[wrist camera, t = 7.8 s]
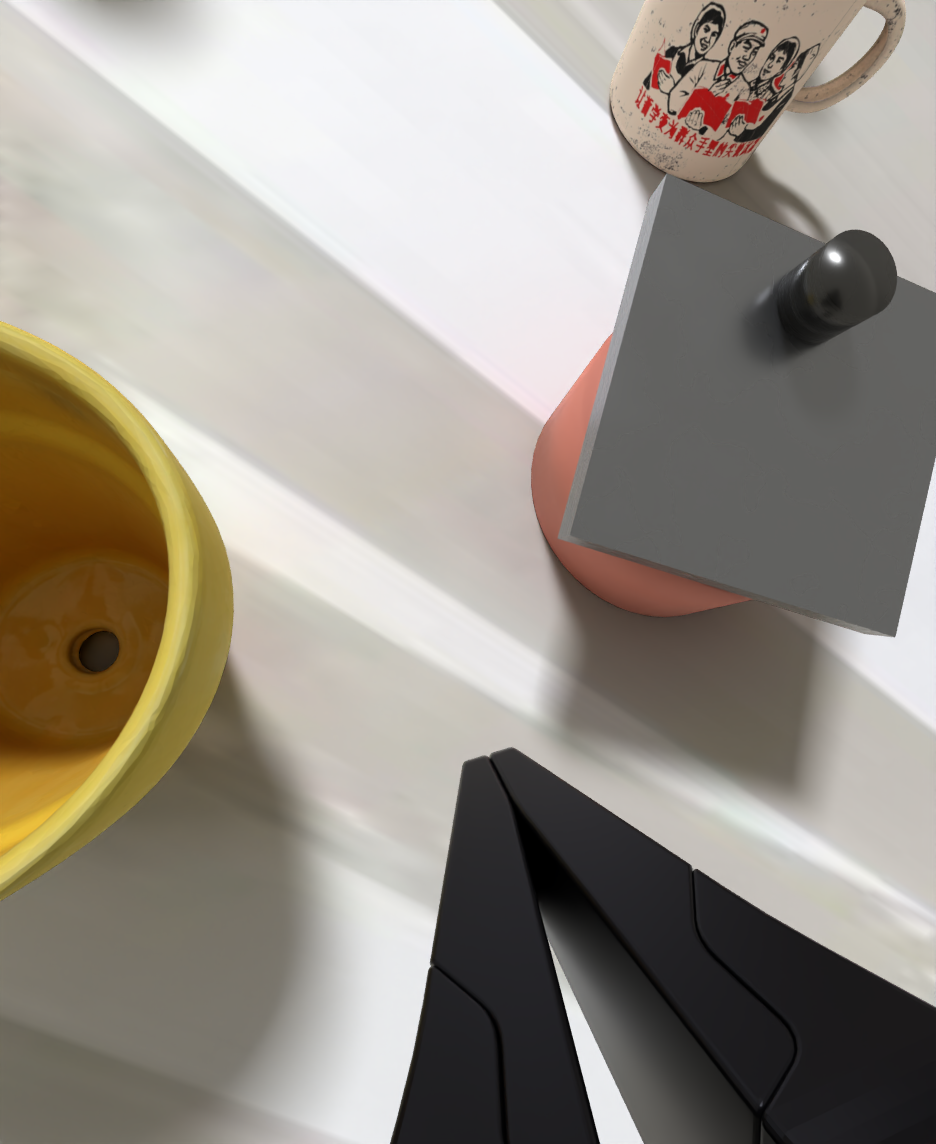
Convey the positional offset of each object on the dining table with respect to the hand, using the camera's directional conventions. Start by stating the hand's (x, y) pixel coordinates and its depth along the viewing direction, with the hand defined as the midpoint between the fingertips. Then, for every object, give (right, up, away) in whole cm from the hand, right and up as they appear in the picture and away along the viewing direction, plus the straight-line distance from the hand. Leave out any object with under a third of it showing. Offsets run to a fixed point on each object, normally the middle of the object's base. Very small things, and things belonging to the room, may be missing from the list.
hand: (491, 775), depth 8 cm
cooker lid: (+9, +8, +8) cm, 15 cm away
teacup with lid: (+13, +28, +20) cm, 37 cm away
